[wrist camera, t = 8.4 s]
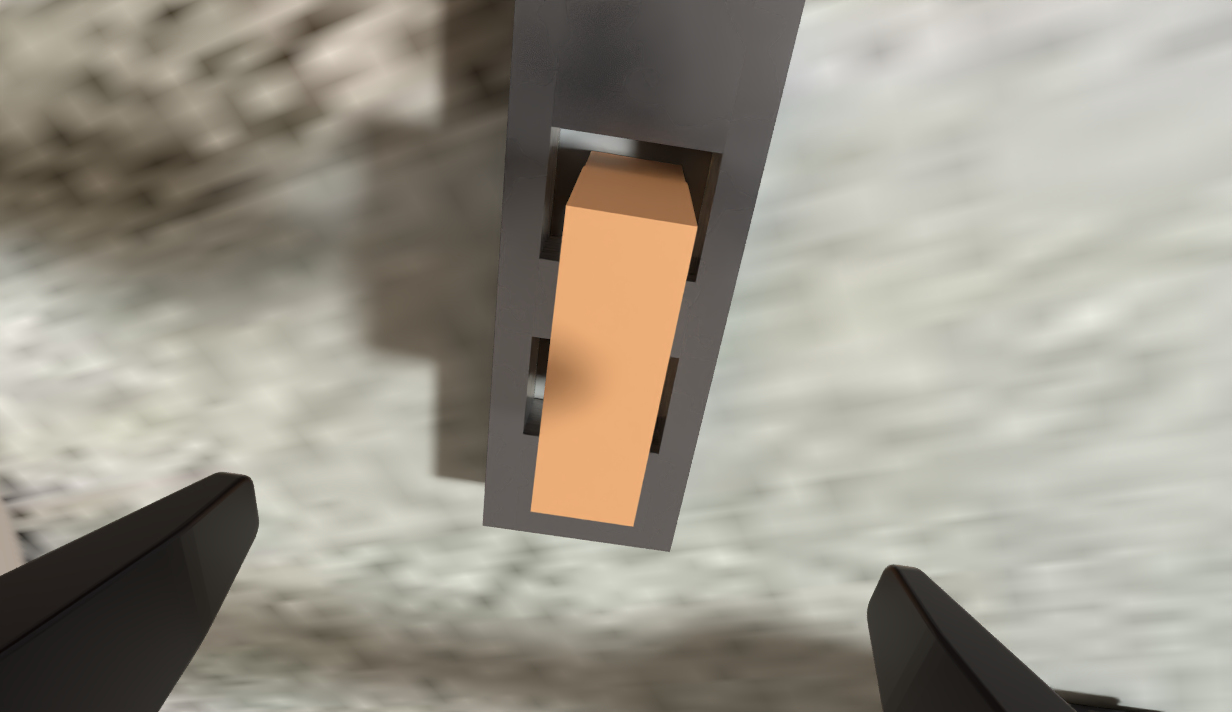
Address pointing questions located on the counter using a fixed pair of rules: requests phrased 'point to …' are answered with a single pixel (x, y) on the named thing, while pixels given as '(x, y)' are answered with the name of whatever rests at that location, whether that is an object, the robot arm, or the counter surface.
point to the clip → (611, 334)
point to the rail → (739, 138)
